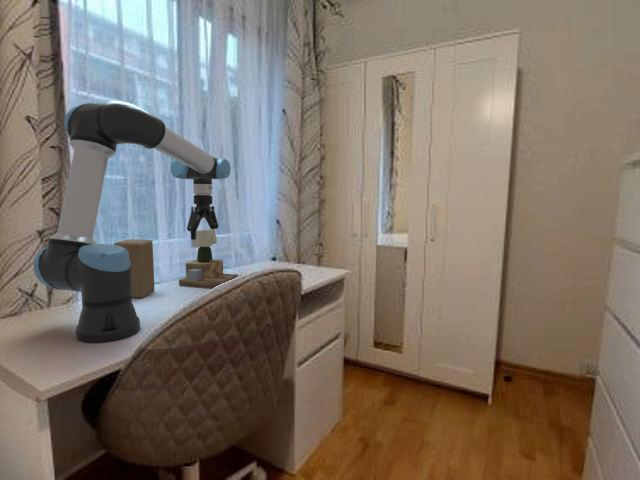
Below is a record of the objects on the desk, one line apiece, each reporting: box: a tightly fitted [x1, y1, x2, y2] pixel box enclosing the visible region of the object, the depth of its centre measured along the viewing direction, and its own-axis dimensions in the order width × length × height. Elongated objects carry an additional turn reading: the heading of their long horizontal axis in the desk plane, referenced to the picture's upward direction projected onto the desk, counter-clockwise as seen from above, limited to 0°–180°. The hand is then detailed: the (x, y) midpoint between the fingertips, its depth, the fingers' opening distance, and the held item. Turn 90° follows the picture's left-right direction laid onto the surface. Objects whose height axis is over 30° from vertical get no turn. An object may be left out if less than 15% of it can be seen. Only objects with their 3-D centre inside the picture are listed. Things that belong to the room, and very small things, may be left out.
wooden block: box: [113, 238, 155, 299], centre depth 140 cm, size 10×10×20 cm
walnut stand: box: [178, 259, 239, 290], centre depth 160 cm, size 16×18×8 cm
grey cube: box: [188, 269, 203, 281], centre depth 155 cm, size 4×4×4 cm
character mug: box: [196, 229, 218, 262], centre depth 162 cm, size 11×7×13 cm, turn 81°
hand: (203, 245), depth 161 cm, fingers open, 13 cm apart
